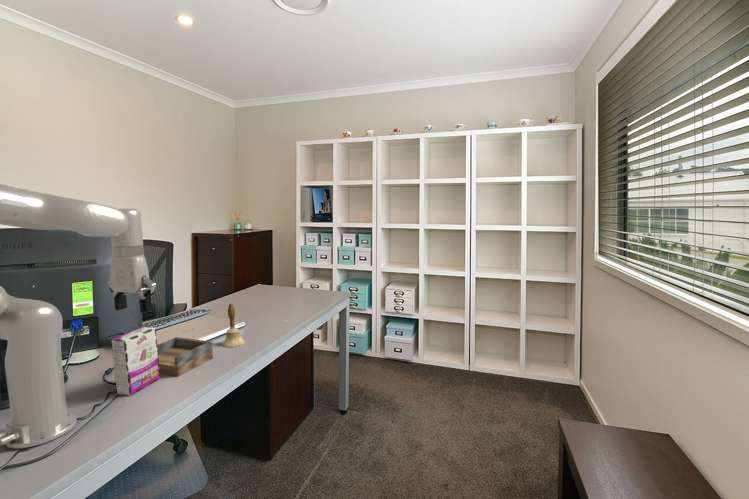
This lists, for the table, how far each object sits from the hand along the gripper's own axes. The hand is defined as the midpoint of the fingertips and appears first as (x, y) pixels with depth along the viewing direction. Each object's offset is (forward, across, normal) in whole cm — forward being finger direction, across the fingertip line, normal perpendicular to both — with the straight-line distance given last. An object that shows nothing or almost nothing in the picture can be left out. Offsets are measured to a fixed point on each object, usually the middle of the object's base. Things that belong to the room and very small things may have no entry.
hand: (133, 310), depth 106 cm
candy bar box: (+23, 0, 0) cm, 23 cm away
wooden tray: (+23, -2, +16) cm, 28 cm away
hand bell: (+24, +3, +37) cm, 44 cm away
